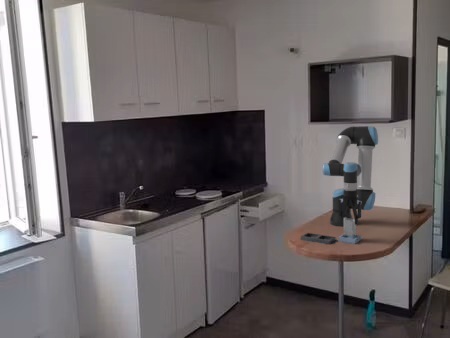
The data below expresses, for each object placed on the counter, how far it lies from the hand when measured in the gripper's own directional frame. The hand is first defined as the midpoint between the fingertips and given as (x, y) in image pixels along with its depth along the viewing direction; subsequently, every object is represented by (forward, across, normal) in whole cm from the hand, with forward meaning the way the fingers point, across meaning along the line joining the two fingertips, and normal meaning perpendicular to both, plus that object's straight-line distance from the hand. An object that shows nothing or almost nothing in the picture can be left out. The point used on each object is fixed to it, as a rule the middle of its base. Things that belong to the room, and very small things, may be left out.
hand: (349, 229), depth 262 cm
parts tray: (+7, 0, 0) cm, 7 cm away
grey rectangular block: (+3, 0, 0) cm, 3 cm away
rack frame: (+7, -16, -8) cm, 19 cm away
